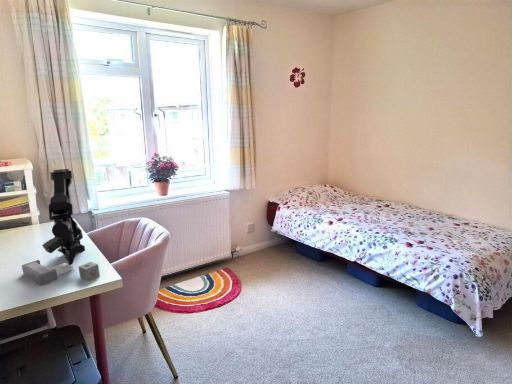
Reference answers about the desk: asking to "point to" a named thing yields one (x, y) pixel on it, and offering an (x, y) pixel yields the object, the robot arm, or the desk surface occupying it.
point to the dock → (39, 273)
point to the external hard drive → (61, 268)
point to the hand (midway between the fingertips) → (70, 264)
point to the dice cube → (89, 271)
